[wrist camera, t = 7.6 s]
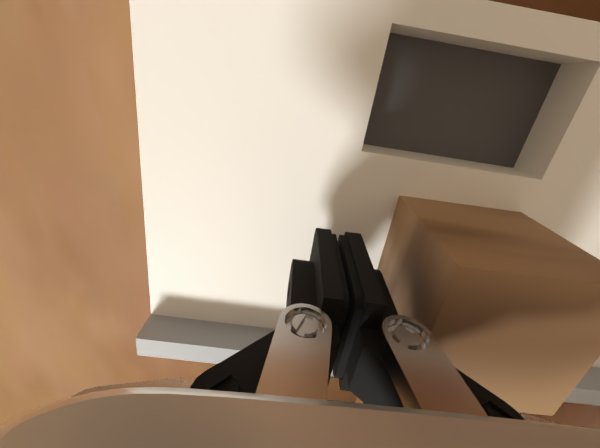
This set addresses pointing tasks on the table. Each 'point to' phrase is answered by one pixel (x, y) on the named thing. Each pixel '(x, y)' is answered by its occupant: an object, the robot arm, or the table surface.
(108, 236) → the table surface
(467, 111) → the trap board
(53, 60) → the table surface
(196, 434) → the robot arm
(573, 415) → the table surface
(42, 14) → the table surface
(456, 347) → the walnut block
